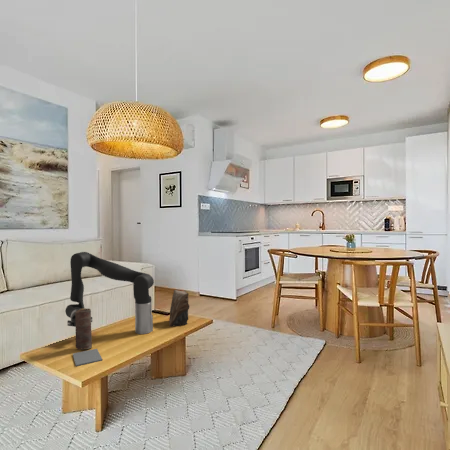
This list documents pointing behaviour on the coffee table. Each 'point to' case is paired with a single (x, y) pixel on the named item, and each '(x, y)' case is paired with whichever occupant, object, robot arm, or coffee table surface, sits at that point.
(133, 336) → the coffee table surface
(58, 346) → the coffee table surface
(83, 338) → the reddish brown cylinder
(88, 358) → the mat
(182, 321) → the dark brown rough block
